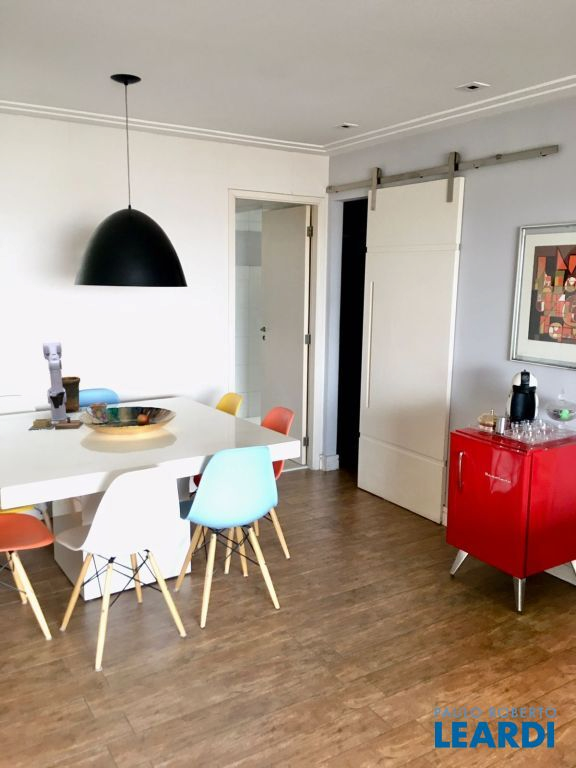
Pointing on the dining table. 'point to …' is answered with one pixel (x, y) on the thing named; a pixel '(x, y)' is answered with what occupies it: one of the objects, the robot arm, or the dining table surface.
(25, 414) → the dining table surface
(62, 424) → the peg stand
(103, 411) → the mug
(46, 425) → the u link
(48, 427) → the mat
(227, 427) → the dining table surface
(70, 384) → the vessel
